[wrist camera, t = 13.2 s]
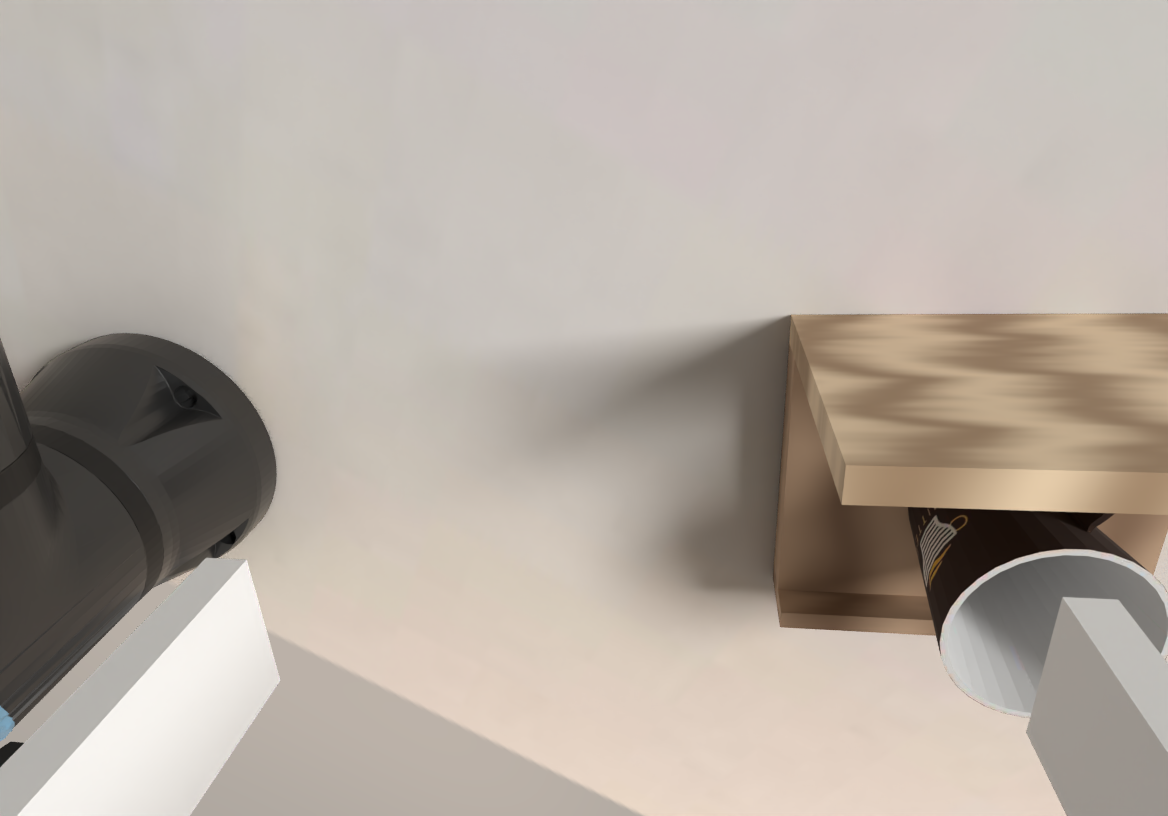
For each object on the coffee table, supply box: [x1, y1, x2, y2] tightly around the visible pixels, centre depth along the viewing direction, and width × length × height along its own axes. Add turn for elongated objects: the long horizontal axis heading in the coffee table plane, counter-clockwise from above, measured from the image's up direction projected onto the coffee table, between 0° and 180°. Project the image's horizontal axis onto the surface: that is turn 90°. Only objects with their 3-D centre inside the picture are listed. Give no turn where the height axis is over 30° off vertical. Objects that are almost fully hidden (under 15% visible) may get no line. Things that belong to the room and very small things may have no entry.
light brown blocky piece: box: [773, 314, 1168, 635], centre depth 34 cm, size 19×16×16 cm
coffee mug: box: [908, 507, 1168, 718], centre depth 34 cm, size 12×9×10 cm
